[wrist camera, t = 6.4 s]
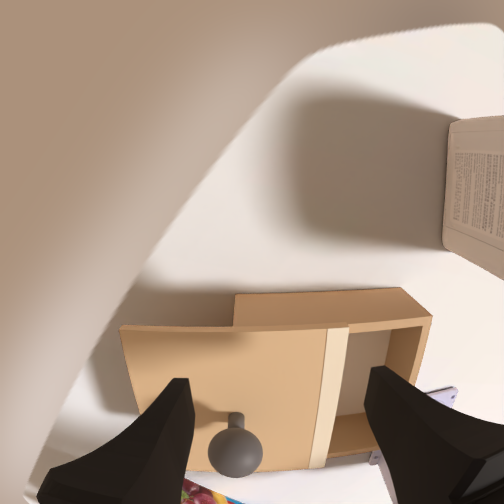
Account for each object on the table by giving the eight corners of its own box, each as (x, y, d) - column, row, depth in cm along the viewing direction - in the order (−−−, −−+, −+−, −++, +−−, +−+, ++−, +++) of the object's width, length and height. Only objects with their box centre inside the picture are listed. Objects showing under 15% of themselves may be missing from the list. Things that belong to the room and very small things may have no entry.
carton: (375, 409, 25) (392, 447, 20) (241, 421, 25) (240, 463, 20) (400, 287, 22) (432, 315, 17) (235, 294, 22) (232, 329, 17)
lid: (322, 461, 20) (334, 513, 15) (159, 461, 20) (147, 513, 15) (346, 321, 17) (377, 376, 12) (122, 324, 17) (86, 376, 12)
